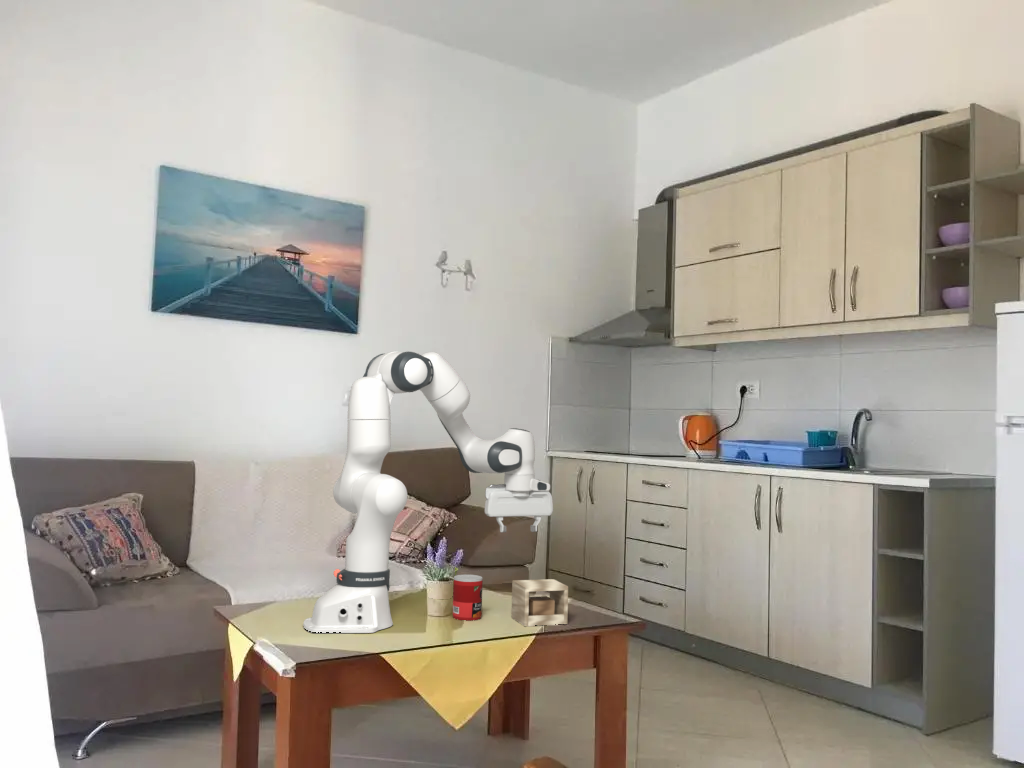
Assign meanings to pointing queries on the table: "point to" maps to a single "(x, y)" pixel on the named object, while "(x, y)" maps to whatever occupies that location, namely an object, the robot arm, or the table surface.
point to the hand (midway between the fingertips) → (518, 531)
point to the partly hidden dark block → (541, 606)
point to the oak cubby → (522, 601)
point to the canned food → (467, 597)
